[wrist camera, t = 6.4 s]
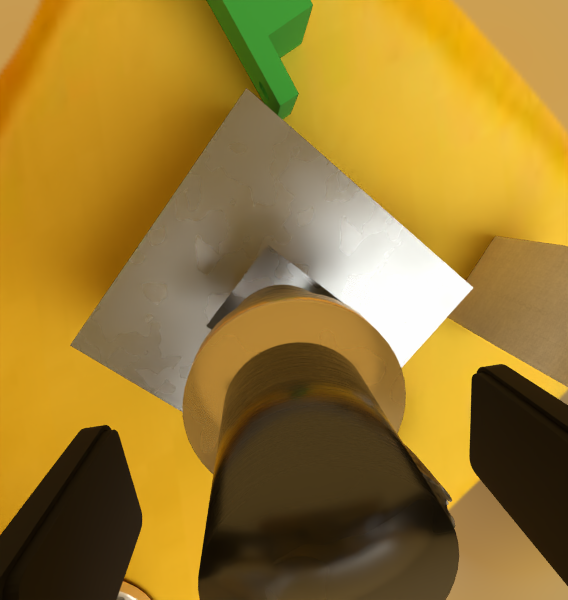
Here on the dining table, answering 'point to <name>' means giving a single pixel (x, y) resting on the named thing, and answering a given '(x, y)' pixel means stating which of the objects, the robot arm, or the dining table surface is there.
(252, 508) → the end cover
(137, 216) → the dining table surface
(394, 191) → the dining table surface
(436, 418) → the dining table surface
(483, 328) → the tan milk carton
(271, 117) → the plate
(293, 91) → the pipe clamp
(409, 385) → the dining table surface
